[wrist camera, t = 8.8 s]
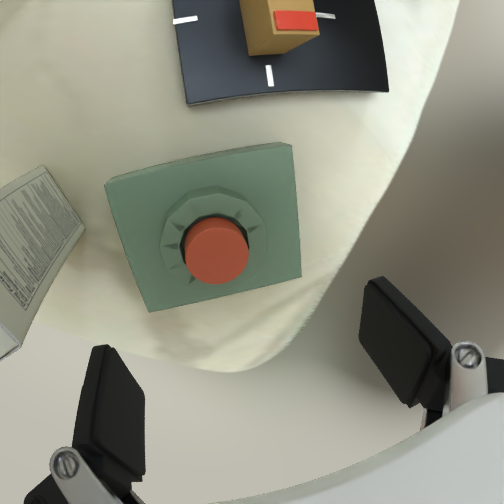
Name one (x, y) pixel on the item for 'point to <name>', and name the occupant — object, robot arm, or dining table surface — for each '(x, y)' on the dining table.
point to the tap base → (278, 65)
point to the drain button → (215, 250)
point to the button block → (205, 206)
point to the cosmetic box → (31, 250)
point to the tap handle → (277, 25)
